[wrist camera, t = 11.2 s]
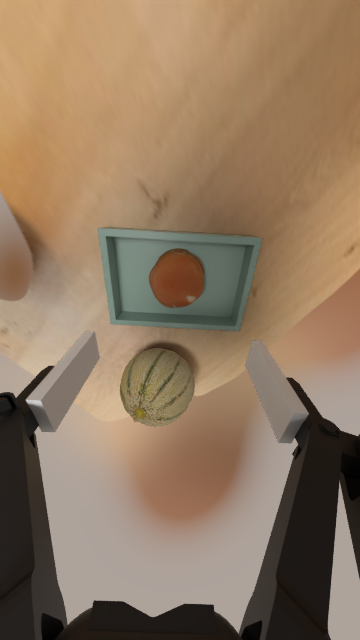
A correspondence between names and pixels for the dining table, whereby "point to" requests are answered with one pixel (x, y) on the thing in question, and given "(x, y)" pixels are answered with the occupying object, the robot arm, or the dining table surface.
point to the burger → (177, 278)
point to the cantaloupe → (156, 387)
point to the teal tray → (141, 256)
